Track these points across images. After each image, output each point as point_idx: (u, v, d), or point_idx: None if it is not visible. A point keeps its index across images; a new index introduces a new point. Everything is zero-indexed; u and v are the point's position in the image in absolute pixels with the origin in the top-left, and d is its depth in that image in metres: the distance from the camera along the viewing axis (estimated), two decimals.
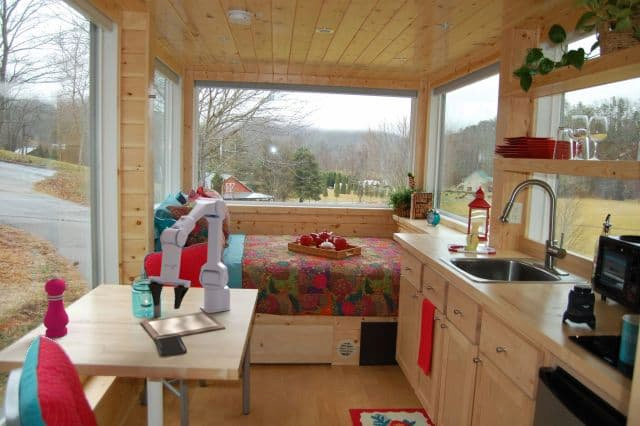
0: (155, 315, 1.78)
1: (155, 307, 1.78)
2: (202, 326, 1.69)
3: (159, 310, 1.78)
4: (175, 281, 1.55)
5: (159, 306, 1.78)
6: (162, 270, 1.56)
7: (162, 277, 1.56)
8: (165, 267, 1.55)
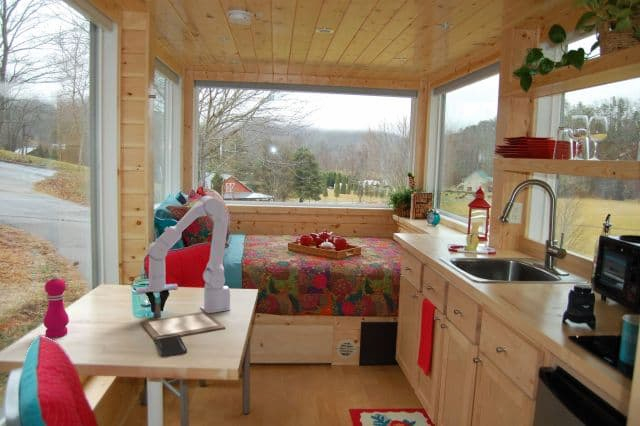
0: (155, 315, 1.78)
1: (155, 307, 1.78)
2: (202, 326, 1.69)
3: (159, 310, 1.78)
4: None
5: (159, 306, 1.78)
6: None
7: None
8: None
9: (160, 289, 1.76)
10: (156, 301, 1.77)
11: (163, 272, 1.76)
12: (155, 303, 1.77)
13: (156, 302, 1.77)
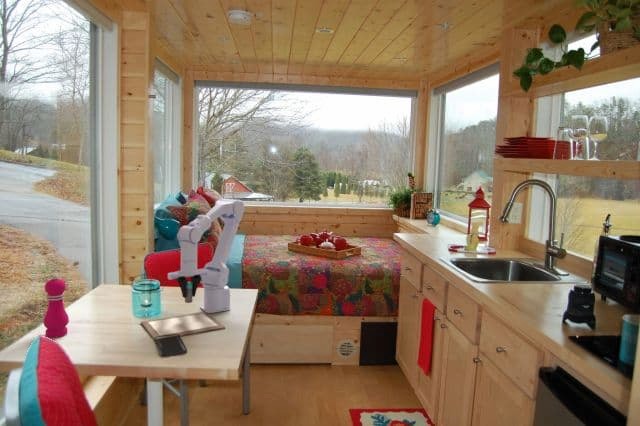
0: (187, 300, 1.74)
1: (187, 292, 1.74)
2: (202, 326, 1.69)
3: (191, 295, 1.75)
4: None
5: (191, 291, 1.74)
6: None
7: None
8: None
9: (192, 274, 1.72)
10: (188, 286, 1.73)
11: None
12: (187, 288, 1.74)
13: (188, 287, 1.73)
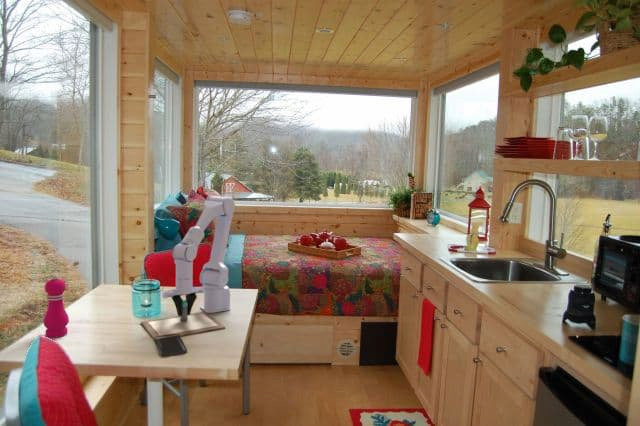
0: (182, 319, 1.72)
1: (182, 311, 1.72)
2: (202, 326, 1.69)
3: (186, 314, 1.73)
4: None
5: (186, 310, 1.72)
6: None
7: None
8: None
9: (188, 292, 1.70)
10: (183, 304, 1.71)
11: (192, 273, 1.72)
12: (182, 307, 1.72)
13: (183, 306, 1.72)
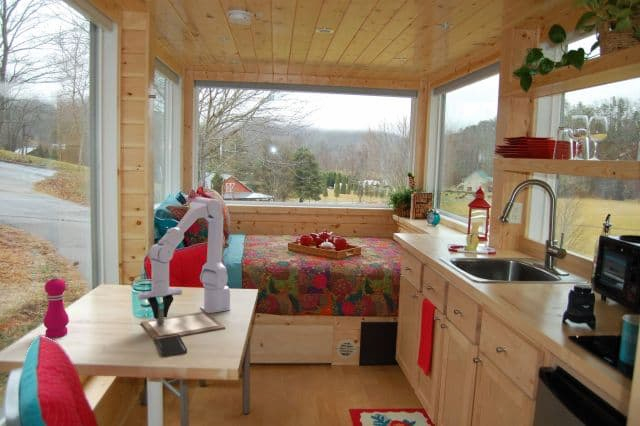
0: (158, 322, 1.68)
1: (158, 313, 1.67)
2: (202, 326, 1.69)
3: (162, 316, 1.68)
4: None
5: (162, 312, 1.68)
6: None
7: None
8: None
9: (163, 294, 1.65)
10: (159, 307, 1.67)
11: (168, 275, 1.67)
12: (158, 309, 1.67)
13: (159, 308, 1.67)
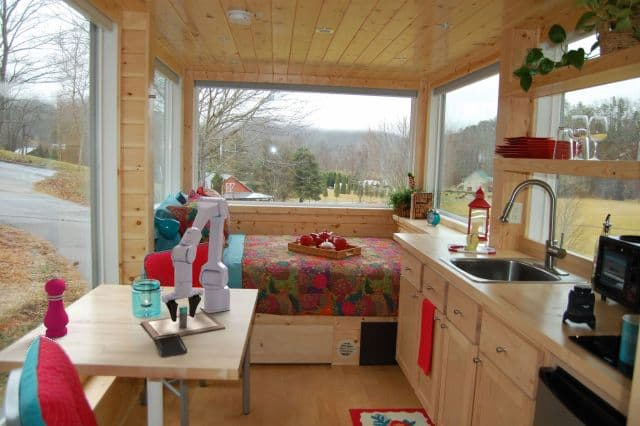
0: (182, 326, 1.66)
1: (182, 318, 1.66)
2: (202, 326, 1.69)
3: (186, 320, 1.67)
4: None
5: (186, 316, 1.66)
6: None
7: None
8: None
9: (188, 295, 1.64)
10: (183, 311, 1.65)
11: None
12: (182, 313, 1.65)
13: (183, 312, 1.65)
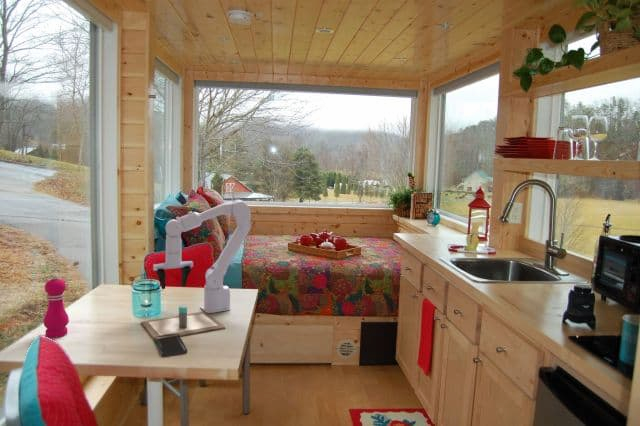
0: (182, 326, 1.66)
1: (182, 317, 1.66)
2: (202, 326, 1.69)
3: (186, 320, 1.67)
4: None
5: (186, 316, 1.66)
6: None
7: None
8: None
9: (177, 265, 1.81)
10: (183, 311, 1.65)
11: (178, 249, 1.81)
12: (182, 313, 1.65)
13: (183, 312, 1.65)
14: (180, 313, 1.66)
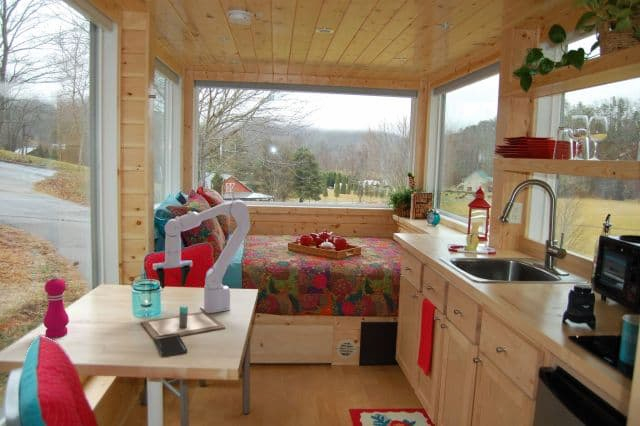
0: (182, 326, 1.66)
1: (182, 317, 1.66)
2: (202, 326, 1.69)
3: (186, 320, 1.67)
4: None
5: (186, 316, 1.66)
6: None
7: None
8: None
9: (176, 264, 1.82)
10: (183, 311, 1.65)
11: (177, 248, 1.82)
12: (182, 313, 1.65)
13: (183, 312, 1.65)
14: (181, 313, 1.66)
